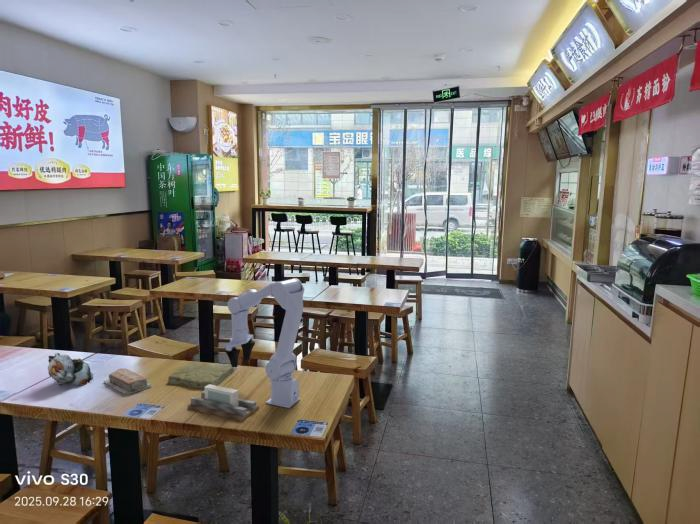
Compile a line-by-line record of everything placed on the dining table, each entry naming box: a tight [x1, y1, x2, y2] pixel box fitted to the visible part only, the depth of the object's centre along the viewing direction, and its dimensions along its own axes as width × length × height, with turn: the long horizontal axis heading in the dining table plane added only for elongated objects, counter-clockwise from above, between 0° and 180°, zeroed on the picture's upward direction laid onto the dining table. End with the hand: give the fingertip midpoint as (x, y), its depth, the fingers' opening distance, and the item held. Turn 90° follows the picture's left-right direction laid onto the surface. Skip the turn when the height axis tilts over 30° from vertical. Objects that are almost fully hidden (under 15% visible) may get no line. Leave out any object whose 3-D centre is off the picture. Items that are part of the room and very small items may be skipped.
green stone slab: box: [167, 361, 235, 389], centre depth 187 cm, size 19×20×4 cm
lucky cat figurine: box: [47, 352, 94, 386], centre depth 180 cm, size 15×12×14 cm
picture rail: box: [187, 390, 260, 422], centre depth 161 cm, size 22×10×3 cm, turn 67°
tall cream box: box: [203, 384, 239, 407], centre depth 161 cm, size 12×3×6 cm, turn 67°
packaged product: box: [103, 367, 153, 396], centre depth 179 cm, size 18×5×10 cm
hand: (240, 363), depth 177 cm, fingers open, 7 cm apart
